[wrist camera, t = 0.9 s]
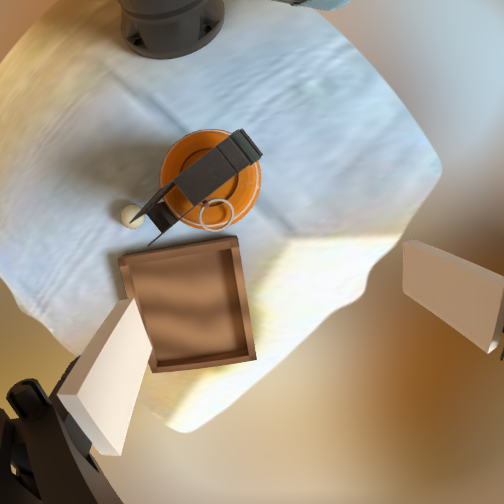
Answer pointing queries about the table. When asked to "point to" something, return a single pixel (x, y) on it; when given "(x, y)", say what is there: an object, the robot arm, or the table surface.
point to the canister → (206, 181)
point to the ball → (131, 216)
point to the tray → (191, 304)
